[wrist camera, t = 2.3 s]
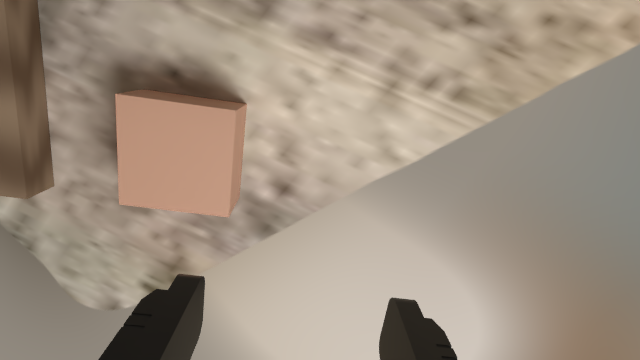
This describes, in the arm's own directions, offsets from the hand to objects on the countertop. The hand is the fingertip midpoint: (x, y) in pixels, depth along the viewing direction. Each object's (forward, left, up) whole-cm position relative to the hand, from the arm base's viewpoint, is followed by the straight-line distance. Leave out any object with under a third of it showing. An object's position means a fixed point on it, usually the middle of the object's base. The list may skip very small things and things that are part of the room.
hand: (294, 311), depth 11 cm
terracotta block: (0, -9, -20) cm, 22 cm away
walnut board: (-4, -22, -20) cm, 30 cm away
